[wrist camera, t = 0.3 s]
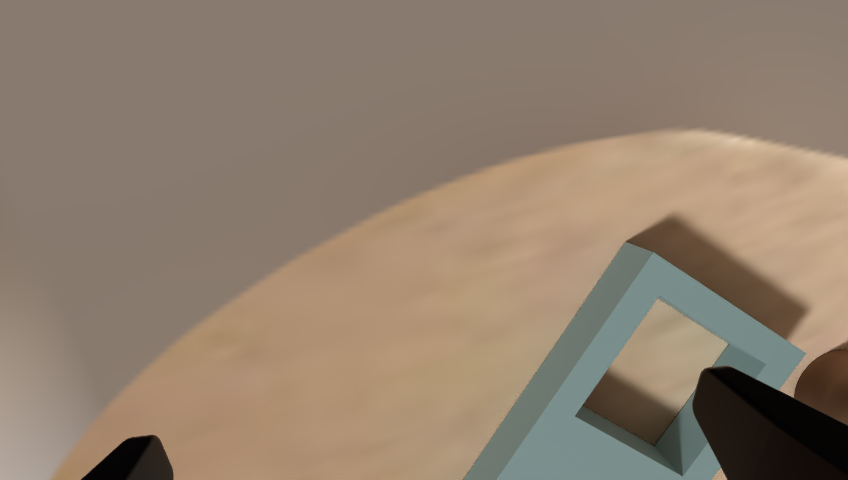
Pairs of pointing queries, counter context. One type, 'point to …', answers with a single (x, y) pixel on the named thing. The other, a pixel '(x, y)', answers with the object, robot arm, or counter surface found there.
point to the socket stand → (589, 360)
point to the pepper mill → (826, 385)
